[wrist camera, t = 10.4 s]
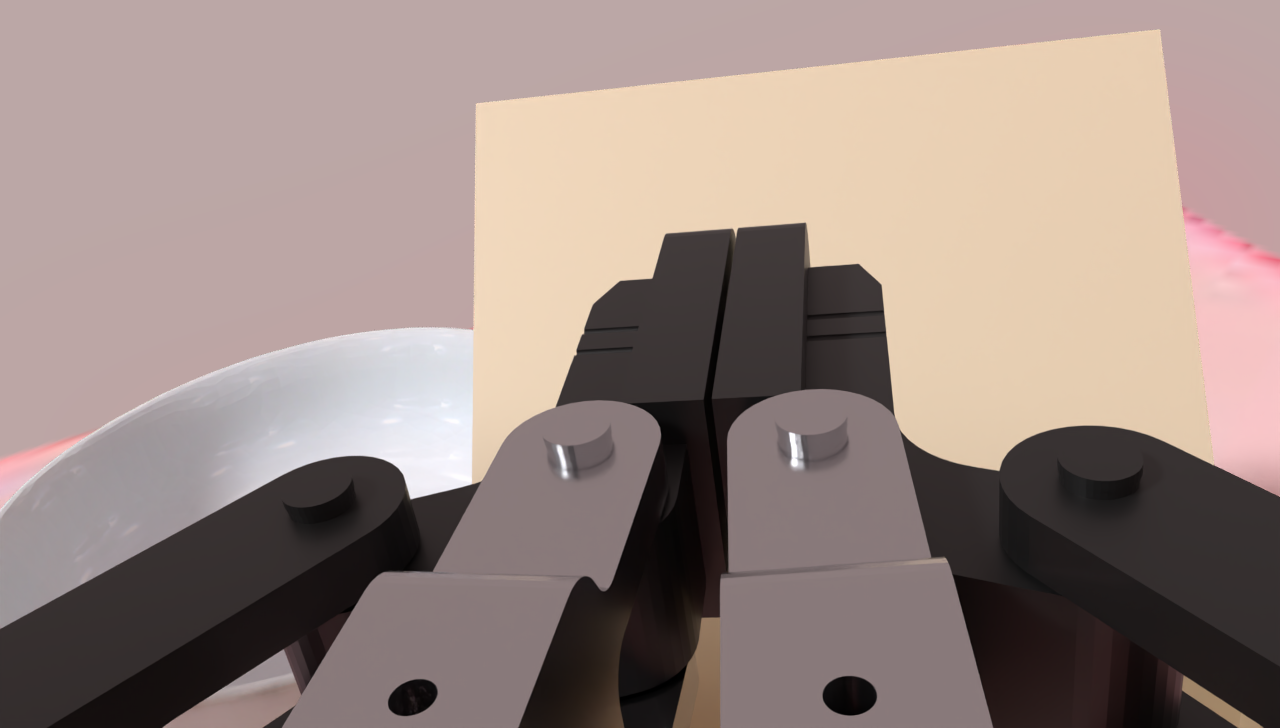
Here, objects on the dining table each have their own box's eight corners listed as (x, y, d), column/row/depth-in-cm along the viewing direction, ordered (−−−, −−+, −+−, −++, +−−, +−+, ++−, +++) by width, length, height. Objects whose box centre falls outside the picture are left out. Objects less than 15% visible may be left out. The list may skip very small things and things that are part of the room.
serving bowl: (501, 410, 54) (469, 275, 51) (749, 669, 37) (725, 492, 34) (22, 596, 47) (-51, 452, 44) (63, 1024, 30) (-52, 840, 27)
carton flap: (1159, 29, 23) (1152, 43, 24) (475, 103, 26) (484, 114, 26) (1224, 547, 21) (1214, 548, 22) (471, 568, 24) (480, 570, 24)
